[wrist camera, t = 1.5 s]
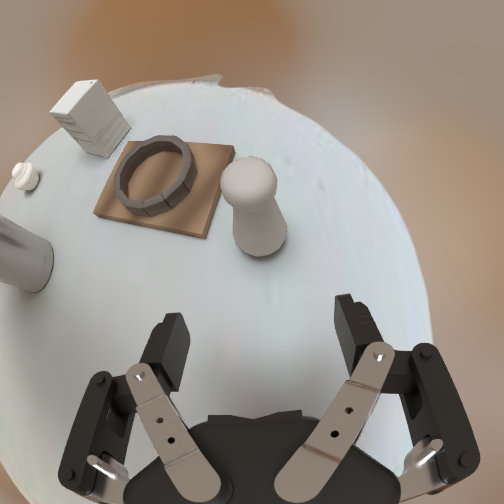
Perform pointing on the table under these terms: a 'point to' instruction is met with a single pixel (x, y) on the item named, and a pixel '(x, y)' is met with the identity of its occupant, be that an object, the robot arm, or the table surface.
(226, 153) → the socket base
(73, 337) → the table surface
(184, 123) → the table surface
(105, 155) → the supplement box
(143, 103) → the table surface
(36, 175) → the muffin
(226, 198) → the salt shaker
